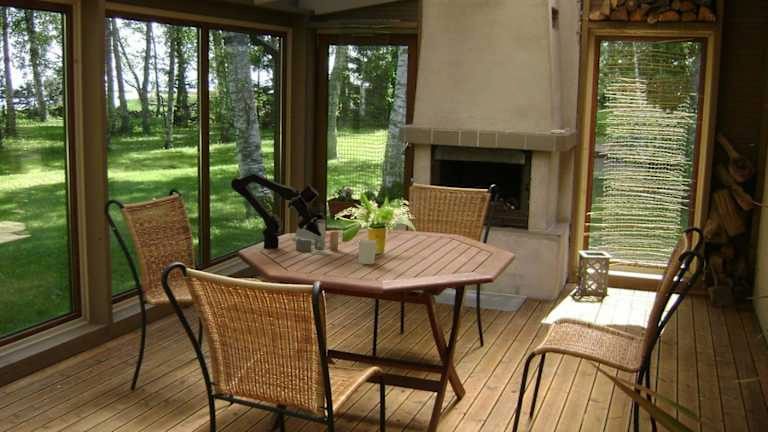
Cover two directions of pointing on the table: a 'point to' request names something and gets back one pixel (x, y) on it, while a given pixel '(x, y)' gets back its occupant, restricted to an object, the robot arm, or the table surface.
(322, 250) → the pad
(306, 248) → the unit
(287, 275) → the table surface
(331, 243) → the terracotta cylinder
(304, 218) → the robot arm
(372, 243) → the white cup
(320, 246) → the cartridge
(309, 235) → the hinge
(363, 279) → the table surface
